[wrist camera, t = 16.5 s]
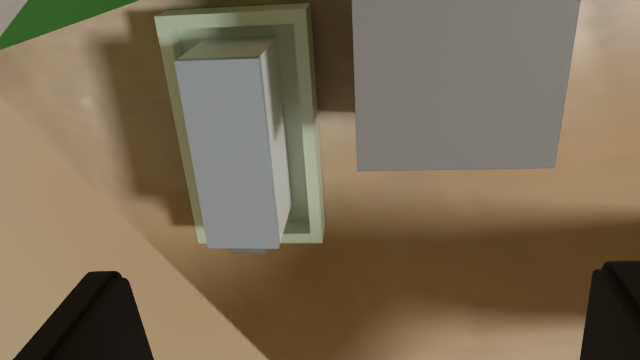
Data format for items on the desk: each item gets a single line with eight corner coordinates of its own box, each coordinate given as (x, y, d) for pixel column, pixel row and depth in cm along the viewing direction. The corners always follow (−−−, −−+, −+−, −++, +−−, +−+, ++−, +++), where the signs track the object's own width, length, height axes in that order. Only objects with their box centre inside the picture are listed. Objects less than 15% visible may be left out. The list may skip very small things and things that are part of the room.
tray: (310, 2, 33) (305, 9, 30) (325, 224, 40) (322, 243, 38) (168, 10, 34) (153, 16, 31) (207, 225, 41) (198, 243, 38)
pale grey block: (276, 35, 33) (258, 58, 27) (292, 214, 39) (280, 261, 33) (206, 38, 33) (174, 61, 28) (232, 214, 39) (210, 261, 34)
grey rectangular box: (531, -81, 29) (593, -81, 21) (511, 108, 34) (554, 168, 26) (355, -70, 30) (349, -65, 22) (360, 112, 35) (357, 171, 27)
